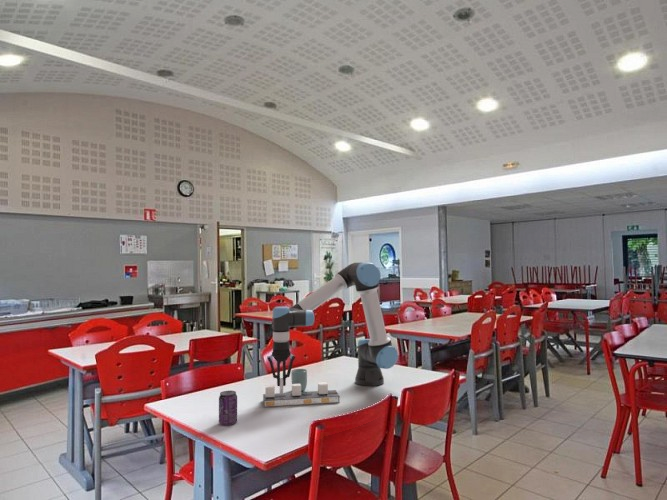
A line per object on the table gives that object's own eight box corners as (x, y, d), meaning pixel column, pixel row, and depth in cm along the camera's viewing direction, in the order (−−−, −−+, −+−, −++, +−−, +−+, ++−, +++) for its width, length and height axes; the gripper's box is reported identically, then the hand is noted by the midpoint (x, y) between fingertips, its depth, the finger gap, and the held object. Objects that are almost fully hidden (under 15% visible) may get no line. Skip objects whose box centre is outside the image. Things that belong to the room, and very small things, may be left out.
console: (335, 396, 213) (335, 389, 213) (339, 402, 202) (339, 395, 202) (263, 400, 207) (263, 393, 207) (263, 407, 197) (263, 400, 197)
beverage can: (220, 420, 180) (220, 390, 181) (238, 419, 181) (238, 389, 181) (217, 426, 173) (217, 395, 174) (236, 426, 174) (235, 394, 174)
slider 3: (326, 391, 209) (326, 382, 209) (327, 393, 205) (327, 384, 205) (317, 392, 208) (317, 382, 208) (319, 394, 204) (319, 384, 205)
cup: (304, 393, 219) (304, 372, 220) (289, 392, 221) (289, 371, 221) (308, 388, 227) (308, 368, 227) (294, 388, 228) (293, 368, 229)
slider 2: (300, 392, 207) (300, 383, 207) (301, 395, 203) (301, 385, 203) (291, 393, 206) (291, 384, 206) (292, 395, 202) (292, 386, 203)
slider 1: (274, 394, 205) (274, 384, 205) (274, 396, 201) (274, 387, 201) (265, 394, 204) (265, 385, 204) (265, 397, 200) (265, 387, 201)
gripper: (294, 339, 209) (295, 390, 208) (266, 340, 207) (266, 391, 206) (296, 341, 202) (296, 394, 201) (266, 342, 200) (267, 396, 199)
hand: (281, 393), depth 204 cm, fingers closed
